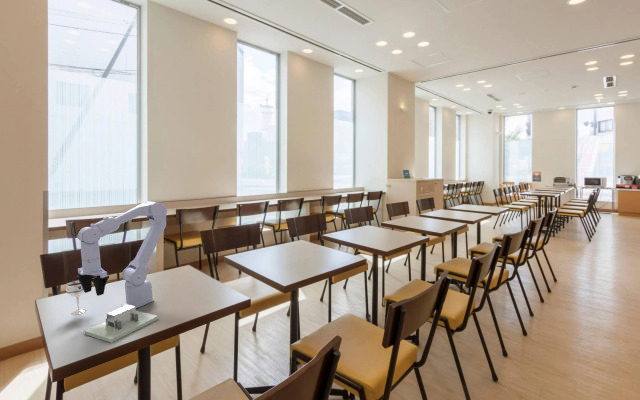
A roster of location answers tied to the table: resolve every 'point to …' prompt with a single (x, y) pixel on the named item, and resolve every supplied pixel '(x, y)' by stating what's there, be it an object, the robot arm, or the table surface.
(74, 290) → the wineglass
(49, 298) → the table surface
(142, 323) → the pale green peg board
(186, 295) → the table surface
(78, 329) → the table surface
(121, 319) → the drive
